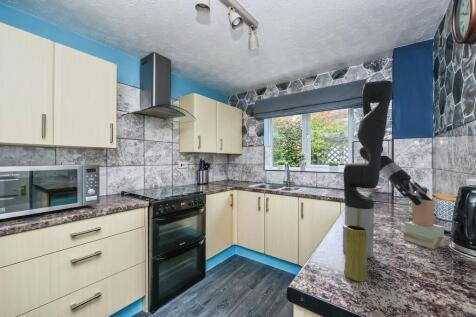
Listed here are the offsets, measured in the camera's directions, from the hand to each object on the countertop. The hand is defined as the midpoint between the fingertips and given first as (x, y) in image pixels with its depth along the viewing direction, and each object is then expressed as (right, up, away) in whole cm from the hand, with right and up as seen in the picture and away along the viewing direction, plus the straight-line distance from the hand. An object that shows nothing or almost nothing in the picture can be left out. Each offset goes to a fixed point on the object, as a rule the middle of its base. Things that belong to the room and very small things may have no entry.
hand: (425, 203), depth 85 cm
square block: (0, -9, +1) cm, 9 cm away
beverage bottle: (+20, -17, +25) cm, 36 cm away
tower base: (0, -17, +1) cm, 17 cm away
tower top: (0, -13, +1) cm, 13 cm away
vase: (-44, -16, -25) cm, 53 cm away
